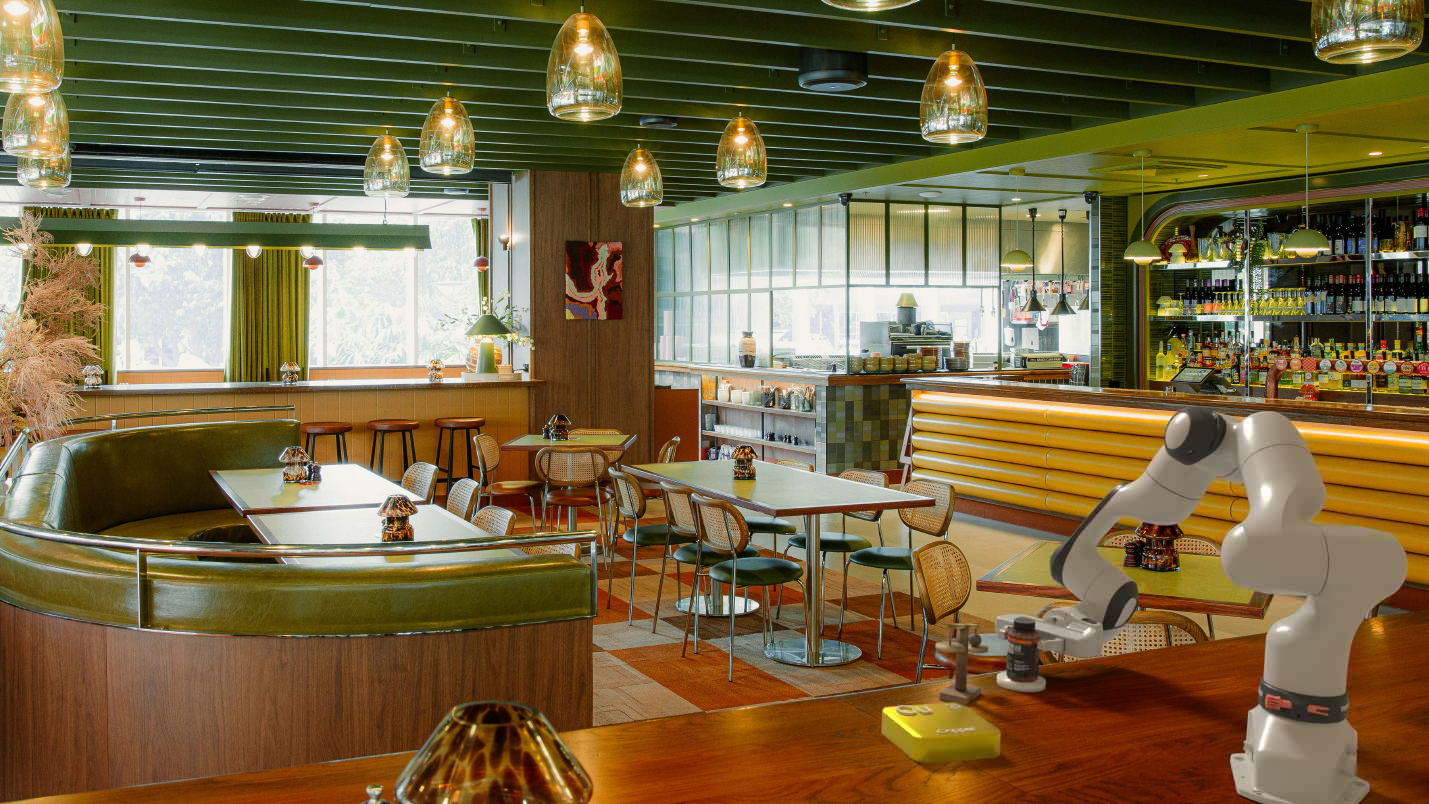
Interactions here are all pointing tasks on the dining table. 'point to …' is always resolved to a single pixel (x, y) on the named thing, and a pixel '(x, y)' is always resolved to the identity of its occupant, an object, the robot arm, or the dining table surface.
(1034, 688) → the dish
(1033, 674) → the supplement bottle
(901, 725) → the element tile
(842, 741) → the dining table surface
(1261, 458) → the robot arm
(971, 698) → the balance
